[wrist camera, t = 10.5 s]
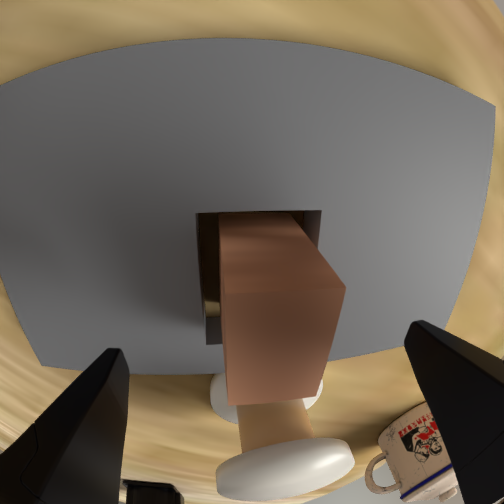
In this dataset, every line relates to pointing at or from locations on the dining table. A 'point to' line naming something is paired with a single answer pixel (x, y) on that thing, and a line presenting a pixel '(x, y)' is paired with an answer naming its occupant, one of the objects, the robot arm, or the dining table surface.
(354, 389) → the dining table surface
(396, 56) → the dining table surface
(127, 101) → the slotted board
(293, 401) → the spool
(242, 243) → the brown rectangular block
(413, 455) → the white printed mug
